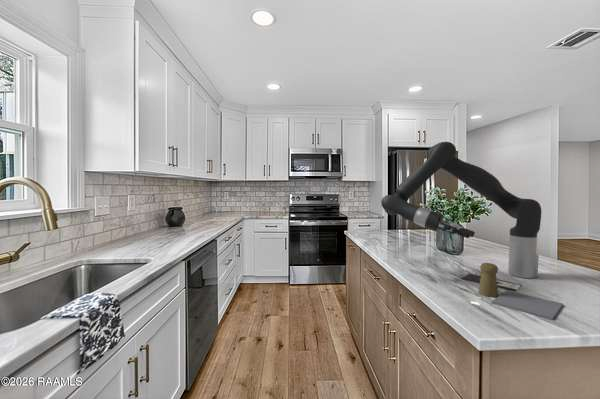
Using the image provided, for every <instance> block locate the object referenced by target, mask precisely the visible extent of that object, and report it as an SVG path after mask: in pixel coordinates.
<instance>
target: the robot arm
mask: <svg viewBox="0 0 600 399" xmlns="http://www.w3.org/2000/svg"><path fill="white" fill-rule="evenodd" d="M426 154H427V159H426V160H425V161H424V162H423V164H421V165H420V166H419V167H418V168H417V169H415V170H414V171H413V172H412V173H411V174H409V175H408V176H407V177H406V178H404V180H403V181H402V182H400V183H399V185H398V186H397V187H396V189H395V194H394V195H393V194H389V195H388V194H387V195H385V196H383V197H382V199H381V201H380V202H381V204H380V205H381V207H382V208H383V210H384V212H385V213H386V214H387V215H389V216H396V215H399V216H400V217H401V218H403V219H404V220H406V221H409V222H411V223H414V224H416V225H418V226H420V227H421V228H426V229H427V230H429V231H433V232H435V233H436V232H438V231H439V230H442V231H443V232H446V233H449V234H452V235H455V236H456V235H457V236H459V237H463V238H464V239H465V238H466V239H470V237H471V238H473V237H474V236H475V233H476V232H475V231H474V230H471V229H468V228H465V227H464V226H463V225H460V224H458V223H455V222H453V221H450V220H446V221H445V220H444V218H445V216H444V214H443V213H441V212H437V211H434V210H432V209H429V208H425V207H422V206H419V205H415V204H412V203H410V202H408V201H409V199H410V198H411V197H412V196H414V194H416V192H417V191H418V190H419V189H420V188H421V187H422V186H423V185H425V183H426V182H427V181H428V180H429V179H430V178H432V176H433V175H434V174H435V173H437V172H438V171H439V170H440V169H442V170H444V171H446V172H448V173H449V174H451V175H452V176H454V177H455V178H456V179H457V180H459V181H460V182H462V183H464V184H465V185H466V186H468V187H469V188H471V190H473V191H474V192H476V193H478V194H479V195H481V196H482V197H484V198H485V199H487V200H489V201H491V202H492V203H494V204H495V205H497V206H498V208H500V209H502V211H504V213H506V214H507V215H508V216H509V217H511V218H513V219H515V220H516V222H515V226H514V227H513V226H512V227H511V228H510V229H509V242H508V243H509V244H508V245H509V246H508V247H509V249H508V271H507V272H508V275H511V276H513V277H517V278H521V279H522V278H523V279H535V278H538V277H539V254H537V246H538V243H537V242H538V233H539V232H540V229H541V223H542V222H541V221H542V207H541V204H540V202H539V201H538V200H535V199H532V198H522V197H519V196H516V195H515V194H513V193H511V192H509V191H508V190H507V189H505V187H504V186H503V185H502V184H501V182H500V181H499V179H498V178H497V177H496V176H494V175H493V174H491V173H490V172H489V171H487V170H485V169H484V168H482V167H480V166H477V165H475V164H472V163H468V162H467V161H463V160H461V159H459V158H458V157H457V156H456V155H457V148H456V146H455V145H454V143H453V142H450V141H441V142H438V143H436V144H434V145H432V146H430V148H429V149H428V150H427V153H426Z"/></svg>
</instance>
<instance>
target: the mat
mask: <svg viewBox="0 0 600 399" xmlns="http://www.w3.org/2000/svg"><path fill="white" fill-rule="evenodd" d="M491 304H494V305H496V306H497V305H498V306H500V307H501V306H502V307H505V308H508V309H510V310H511V309H512V310H516V311H519V312H522V313H525V314H530V315H533V316H538V317H540V318H544V319H546V320H547V319H548V320H551V319H552V320H551V321H553V320H554V319H553V318H555V317H556V316H557V314H558V313H559V312H560V310H561V309H562V307H563V306H564V303H562V302H559V301H555V300H554V301H553V300H550V299H546V298H541V297H537V296H534V295H533V296H532V295H528V294H524V293H520V292H517V291H512V290H507V289H506V290H505V291H503V293H501V294H500V295H498V297H495V298H494V299H493V300H492V301H491Z"/></svg>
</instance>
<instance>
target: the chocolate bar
mask: <svg viewBox="0 0 600 399" xmlns="http://www.w3.org/2000/svg"><path fill="white" fill-rule="evenodd" d="M461 280H464V281H467V282H468V281H469V282H473V283H476V284H480V280H481V275H478V274H473V273H468V274H467V275H464V276H463V277H462V278H461ZM521 286H522V284H520V283H516V282H510V281H508V280H507V281H506V280H500V279H497V288H498V289H499V288H500V289H503V290H506V291H507V290H509V291H513V292H517V291H518V289H519V288H521Z"/></svg>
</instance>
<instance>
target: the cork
mask: <svg viewBox="0 0 600 399" xmlns="http://www.w3.org/2000/svg"><path fill="white" fill-rule="evenodd" d="M480 271H481V274H480V276H481V280H480V283H479V284H478V285H479V287H478V291H477V293H478V294H479V295H481V296H484V297H487V298H494V299H496V298H497V297H498V296H499V288H498V287H497V280H498V279H497V274H498V272H499V268H498V266H497V265H496V264H495V263H490V262H483V263H481V264H480Z"/></svg>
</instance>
